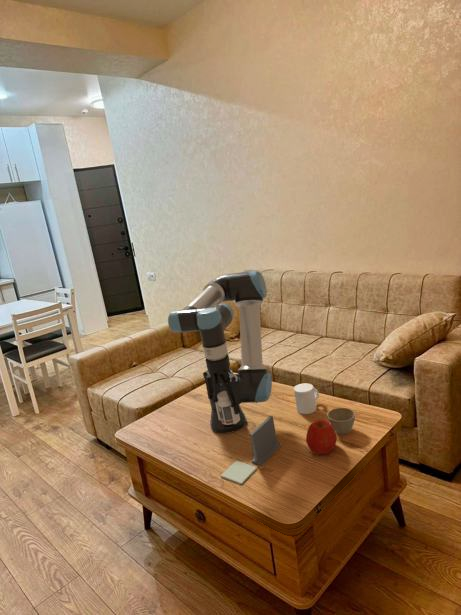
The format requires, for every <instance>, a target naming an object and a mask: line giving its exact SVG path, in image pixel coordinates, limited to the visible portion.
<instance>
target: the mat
mask: <svg viewBox="0 0 461 615" xmlns="http://www.w3.org/2000/svg"><path fill="white" fill-rule="evenodd" d="M257 469H258V467H257V466H254V465H251V464H248V463H245V462H242V461H238V460H235V462H233V463H232V464H231V465H230V466H229V467H228V468H227V469H226V470H225V471H224V472H223V473H222V474H221V475H220V477H221V478H222V479H226V480H229V481H231V482H233V483H236V484H239V485H243V484H244V483H245V482H246V481H247V480H248V479H249V478H250V477H251V476H252V475H253V473H255V471H256V470H257Z"/></svg>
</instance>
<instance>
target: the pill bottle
mask: <svg viewBox="0 0 461 615" xmlns="http://www.w3.org/2000/svg"><path fill="white" fill-rule="evenodd" d="M217 397H218V400H219V401H218V403H217V404H218V409H219V414H220V418H221V422H222V423H223V424H225V425H230V424H233V418H232V413H231V408H230V406H231V405H232V404H231V402H230V399H229V397H228V395H227V392H226V391H222V392H220V393H218V395H217Z"/></svg>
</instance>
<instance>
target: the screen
mask: <svg viewBox="0 0 461 615" xmlns="http://www.w3.org/2000/svg"><path fill="white" fill-rule="evenodd" d="M274 420H275V419H274V416H273V415H269V416H268V417H267V418H266V419H265V420H264V421H263V422H261V423H260V424H259V425H258V426H257V427H256V428H254V430H252V431H251V433H250V434H249V435H250V442H251V448H252V454H253V458H252V460H251V463H252V464H254V465H258V466H263V465H264V464H265V463H266V461H267V460H268V459H270V457H271V456H272V455H273V454H274V453H275V452H276V451H277V450H278V449H279V448H280V447H281V443H280V442H278V439H277V433H276V426H275V421H274Z"/></svg>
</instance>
